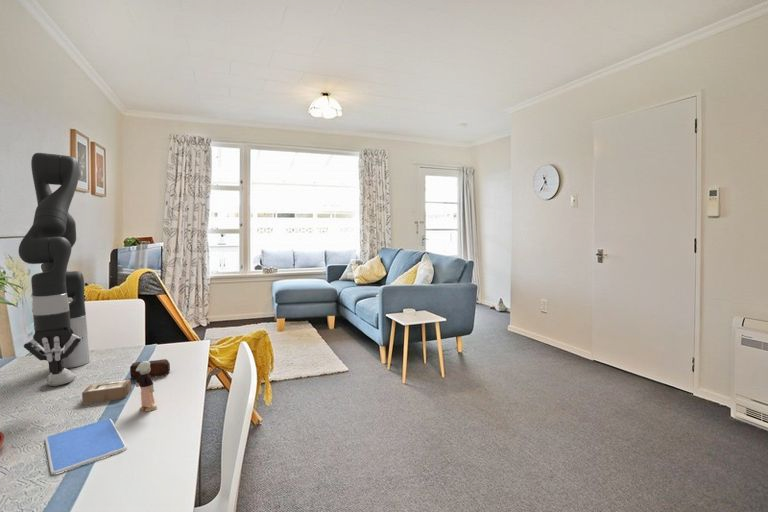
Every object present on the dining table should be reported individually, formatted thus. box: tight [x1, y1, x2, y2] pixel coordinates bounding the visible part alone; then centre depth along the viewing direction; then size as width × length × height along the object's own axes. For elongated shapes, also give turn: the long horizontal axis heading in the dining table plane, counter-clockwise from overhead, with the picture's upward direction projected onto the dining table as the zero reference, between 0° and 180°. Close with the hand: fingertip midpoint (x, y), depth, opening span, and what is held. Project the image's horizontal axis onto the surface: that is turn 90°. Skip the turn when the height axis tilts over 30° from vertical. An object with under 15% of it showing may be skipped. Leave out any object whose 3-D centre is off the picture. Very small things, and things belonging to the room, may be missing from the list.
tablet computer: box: [44, 418, 128, 474], centre depth 86 cm, size 19×13×1 cm, turn 44°
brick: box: [129, 358, 171, 381], centre depth 127 cm, size 11×4×5 cm, turn 111°
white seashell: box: [46, 368, 77, 387], centre depth 123 cm, size 9×8×5 cm
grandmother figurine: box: [135, 360, 158, 413], centre depth 103 cm, size 8×4×13 cm, turn 71°
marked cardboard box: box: [81, 378, 132, 405], centre depth 111 cm, size 6×4×10 cm
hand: (57, 373), depth 107 cm, fingers closed
